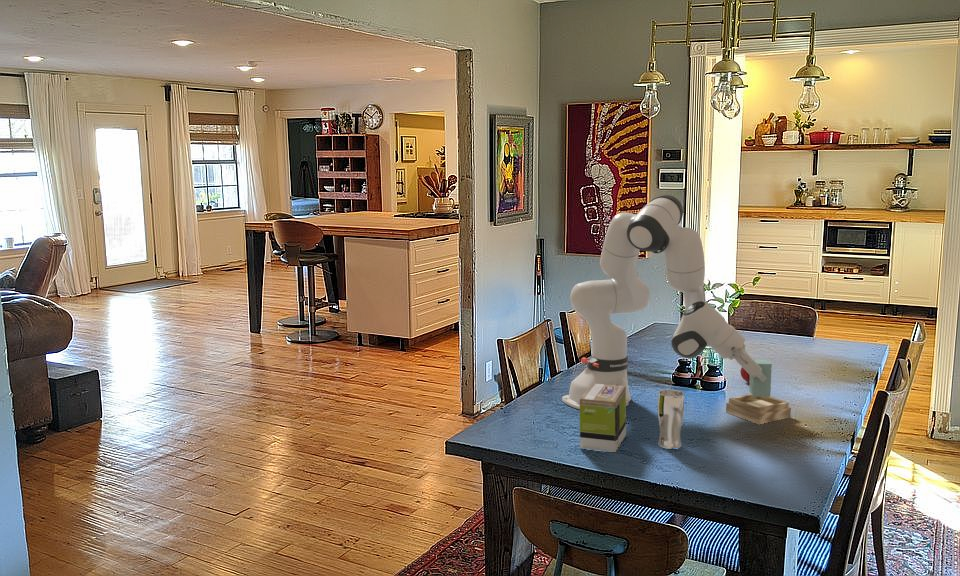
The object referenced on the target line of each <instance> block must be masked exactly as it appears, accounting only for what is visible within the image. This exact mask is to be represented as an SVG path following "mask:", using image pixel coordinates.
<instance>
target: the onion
mask: <svg viewBox="0 0 960 576" xmlns="http://www.w3.org/2000/svg"><path fill="white" fill-rule="evenodd" d="M740 376H741V378H742V379H743V380H744V381H745V382H747V383H748V384H749V381H750V374H749V373H748V372H747V371H746V370H745V369H744V368H743V367H742V366H741V368H740Z"/></svg>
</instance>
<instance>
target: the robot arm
mask: <svg viewBox="0 0 960 576" xmlns="http://www.w3.org/2000/svg"><path fill="white" fill-rule="evenodd" d="M683 215H684V207H683V205H682V202H681V201H680V200H679V199H678V198H677V197H675V196H673V195H671V194H661V195H658V196H656V197H654V198H652V199H651V200H650V201H649V202H648V203H647V204H645V206H643V207H642V208H641V209H640V210H639V211H638V212H637V213H631V212H626V211H625V212H620V213H619V212H618V214H616V215H614V216H613V217H612V219H611V221H610V223H609V226H608V228H607V231H606V233H605V237H604V241H603V244H602V249H601V254H600V258H599V267H600V269H601V271H602V272H603V273H604V274H605V275H607V277H609V278H610V279H603V280H602V279H597V280H592V279H591V280H587V281H586V280H585V281H583V282H579V283H576V284H575V285H574V286H573V287H572V288H571V291H570V295H569V301H570V305H571V307H572V309H573V310H574V312H576V313H577V314H578V315H579V316H581V317H582V319H584V321H585V322H586V324H587V325H588V328H589V332H590V336H591V338H590V339H591V355H590V357H589V358H587V357H582V358H581V359H580V363H581V364H584V365H587V366H586V368H585V369H584V370H583V371H582V372H581V373H580V374H579V375H577V376H576V377H575V378H574V379H573V380H572V381H571V383H570V385H569V386H570V387H569V392H568V393H569V394H565V395H563V396H562V397H561V401H562V403H565V405H567V406H569V407H572V408H574V409H577V410H580V398H581V397H582V396H583V395H584V393H585V392H586V391H587V390H588V388H589V387H590V386H591V385H592V384H593V383H594V384H605V385H618V386H626V407H628V406H629V404H630V403H629V402H631V400H632V397H631V394H630V393H631V392H630V389H629V382H628V371H627V370H628V368H629V357H628V355H627V353H628V351H627V350H628V349H627V348H628V347H627V346H628V344H627V343H628V335H627V333H626V331H625V329H624V328H622V327H621V326H619V325H618V324H616V323H614V322H611V321H612V320H611V315H616V314H617V315H618V314H632V313H635V312H639V311H642V310H645V309H646V307H647V306H648V305H649V303H650V299H651V293H650V289H649V287H648V285H647V283H645V281H643V280H641V279H640V278H639V276H638V274H637V265H638V261H639V260H638V259H639V255H640V251H642V252H651V253H653V254H660V253H662V252H663V253H664V260H665V273H666V279H667V282H668V286H670V287H671V288H672V289H673V290H674V291H677V292H680V293H683V300H684V311H683V312H682V315H681V317H680V322H679V323H678V326H677V327H676V329H675V332H674V333H673V336H672V339H671V347H672V350H673V351H674V353H675V354H677V356H680V357H681V358H683V359H684V358H685V359H694V358H696V357H697V356H699V355H700V354H702V352H703V351H705V349H706V347H709V348H711V349H712V350H713V351H714V352H716V354H717V355H718V356H719V357H720V358H721V359H723V360H725V359H728V360H729V361H731V360H735V361H736V362H737V364H738V365H739V366H741V368H742V367H743V368H744V369H745V370H746V371H747V372H748V373H749V374H750V375H751V376H752V377H753V378H754V377H758V378H759V379H760V380H761V381H762V382H764V381H765V380H766V379H767V377H766V376H765V375H764V374H763V373H762V372H761V371H762V368H761V367H760V366H759V365H758V364H757V363H756V362H755V361H754V360H755V359H754V358H753V357H752V356H751V355H750V354H749V353H748V352H747V350H746V344H745V341H746V339H745V337H744V336H743V335H742V334H741V333H740V332H739V331H738V330H737V329H736V328H735V327H734V326H733V325H731V324H729V323H728V322H727V321H726V319H725V317H724V316H723V315H722V314H721V313H720V312H719V311H717V310H716V308H715V307H713V306H712V305H710V304H709V303H707V302H706V294H705V276H706V275H705V274H706V273H705V270H706V266H705V265H706V263H705V252H704V247H703V242H702V239H701V235H700V234H699V233H698V231H696V229H694V228H691V227H683V226H681V225H680V223H681V222H682V219H683Z"/></svg>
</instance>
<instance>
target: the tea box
mask: <svg viewBox="0 0 960 576" xmlns="http://www.w3.org/2000/svg"><path fill="white" fill-rule="evenodd" d="M626 436H627V406H626V386H618V385H605V384H594V383H593V384H592V385H591V386H590V387H589V388H588V390H587V391H586V392H585V393H584V395H583V396H582V397H581V398H580V409H579V449H580V448H586V449H594V450H602V451H610V452H616V453H617V451H618V449H619V448H620V446H621V445H622V443H623V441H624V439H625V437H626ZM621 442H622V443H621ZM618 447H619V448H618ZM616 450H617V451H616Z"/></svg>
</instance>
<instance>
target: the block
mask: <svg viewBox="0 0 960 576" xmlns="http://www.w3.org/2000/svg"><path fill="white" fill-rule="evenodd" d="M754 361H755V362H756V363H757V364H758V365H759V366H760V367H761V368H762V371H761V372H762V373H763V374H764V375H765V376H766V377H767V379H766V380H765V381H764V382H762V381H761V380H760V379H759V378H758V377H754V378H753V377H752V376H751V375H750V381H749V383H748V384H749V386H748V387H749V389H748V392H749V394H751V395H752V396H755V397H771V384H772V363H771V361H770V360H768V359H754Z"/></svg>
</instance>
